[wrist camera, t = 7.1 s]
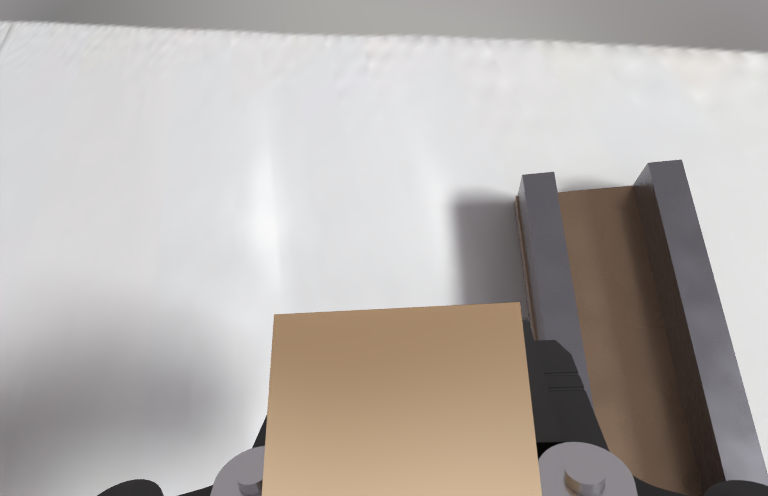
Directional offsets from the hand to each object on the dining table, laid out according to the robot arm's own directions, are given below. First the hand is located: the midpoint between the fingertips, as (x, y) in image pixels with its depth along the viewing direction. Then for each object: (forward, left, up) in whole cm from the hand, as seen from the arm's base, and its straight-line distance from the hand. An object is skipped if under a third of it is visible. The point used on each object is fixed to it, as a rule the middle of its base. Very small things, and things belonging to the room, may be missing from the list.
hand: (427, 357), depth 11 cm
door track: (+5, +7, -16) cm, 18 cm away
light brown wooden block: (+2, -1, -4) cm, 5 cm away
